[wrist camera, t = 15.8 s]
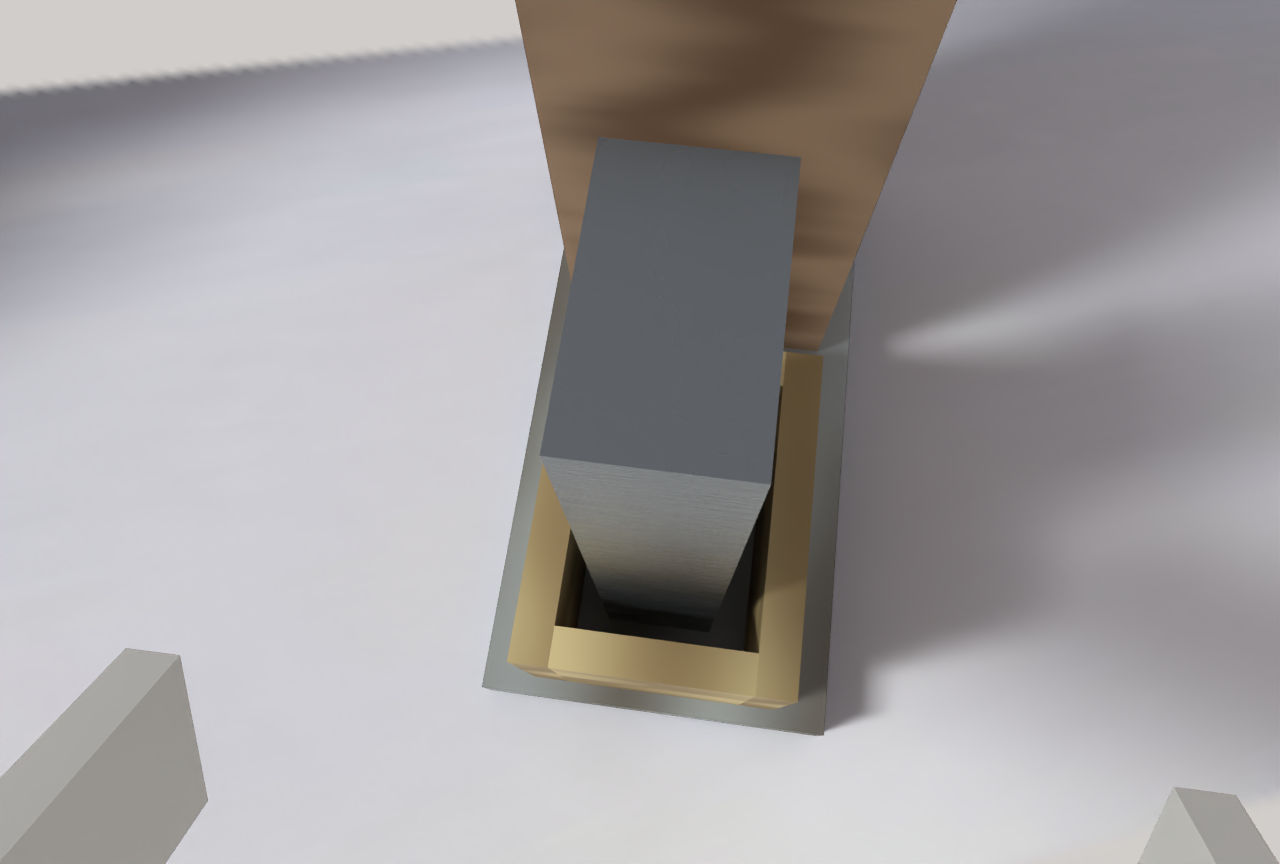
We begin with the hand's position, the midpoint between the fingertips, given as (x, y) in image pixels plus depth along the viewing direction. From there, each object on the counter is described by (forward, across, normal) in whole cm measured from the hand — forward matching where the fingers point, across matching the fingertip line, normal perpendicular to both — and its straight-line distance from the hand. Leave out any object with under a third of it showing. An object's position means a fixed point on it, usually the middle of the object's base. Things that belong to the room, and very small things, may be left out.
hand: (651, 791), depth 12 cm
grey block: (+14, 0, -5) cm, 15 cm away
